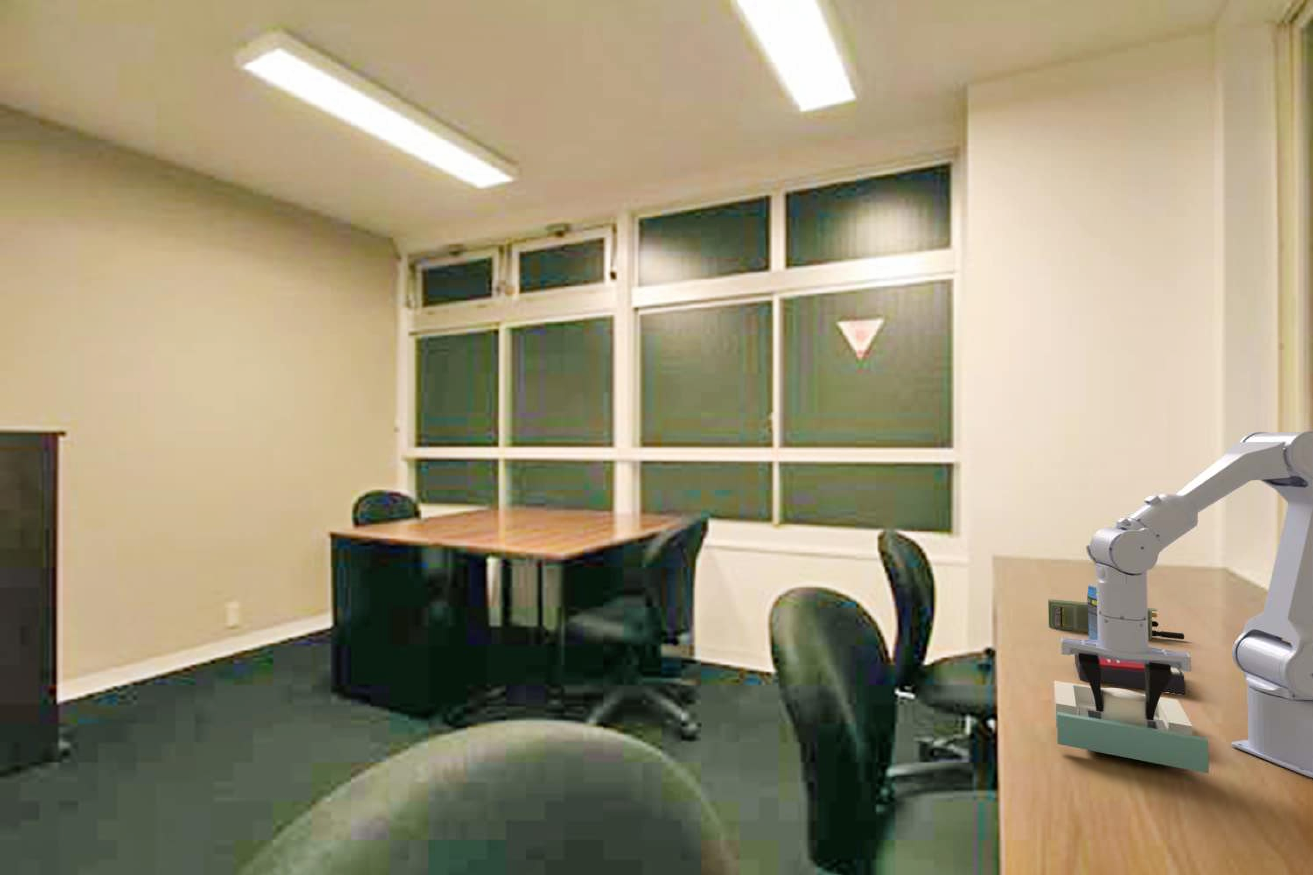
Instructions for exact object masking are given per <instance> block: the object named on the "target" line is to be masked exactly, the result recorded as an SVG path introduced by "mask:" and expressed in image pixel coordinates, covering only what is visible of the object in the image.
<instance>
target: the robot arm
mask: <svg viewBox="0 0 1313 875" xmlns="http://www.w3.org/2000/svg"><path fill="white" fill-rule="evenodd" d="M1252 481H1260V482H1261V483H1264V484H1265V485H1267V486H1269V487H1270V488H1272V489H1274V490H1275V491H1276V492H1277V493H1278V494H1279V496H1281V497H1282V498H1283V499H1284V500H1285V501H1286V502H1287V507H1286V511H1285V517H1284V521H1283V525H1282V529H1281V533H1280V538H1279V543H1278V547H1277V550H1276V555H1275V560H1274V564H1273V569H1272V573H1271V578H1270V581H1269V586H1268V590H1267V594H1266V600H1265V602H1264V608H1263V611H1262V612H1261V613H1259V614H1257V615H1255V616H1253V617H1251V618H1249V619H1247V620H1246V622H1245V624H1244V629H1243V631H1242V633H1241V634H1240V635H1239V636H1238V637H1237V639H1235V642H1233V645H1232V648H1231V655H1232V659H1233V661H1234V664H1235V665H1236V667H1237V668H1238V669H1239V670H1240V671H1242V672H1243V680H1244V681H1246V683H1247V684H1246V694H1247V695H1246V697H1247V698H1246V702H1247V704H1246V705H1247V736H1248V737H1247V739H1244V740H1236V741H1231V746H1232V747H1233V748H1236V749H1239V750H1242V751H1244V752H1246V753H1248V754H1250V755H1254V756H1256V757H1259V758H1262V759H1263V760H1267V761H1269V762H1270V763H1274V764H1275V765H1279V766H1281V767H1284V768H1286V769H1289V770H1291V771H1293V772H1296V773H1299V774H1301V775H1304V776H1306V777H1308V778H1312V779H1313V429H1312V430H1311V429H1309V430H1305V431H1286V432H1285V431H1284V432H1283V431H1282V432H1266V431H1257V432H1251V433H1249V434H1247V435H1245V436H1244V437H1242V438H1241V439H1240V441H1237V442H1235V443H1233V444H1231V445H1229V446H1228V448H1227V451H1226V453H1225V454H1224V455H1222V456H1221V457H1220V458H1219V459H1217V460H1216V461H1215V462H1214V463H1212V464H1211V465H1210V466H1209V467H1208V468H1206V470H1204V471H1203V472H1202V473H1200V474H1199V475H1198V476H1197V477H1195V478H1194V479H1193V480H1191V481H1190V482H1189V483H1188V484H1187V485H1184V487H1183V488H1181V489H1180V490H1179V491H1177V492H1176V493H1175V494H1171V493H1160V494H1158V495H1152V494H1151V495H1149V496H1147V497H1146V498H1145V499H1144V500H1143V501H1144V503H1145V504H1144V505H1142V506H1141V507H1139V508H1138V509H1137V510H1135V511H1134V512H1132V513H1131V514H1129V515H1128V516H1126V517H1120V518H1118V519H1117V520H1116V521H1115V522H1116V525H1115V527H1112V526H1111V527H1110V526H1109V527H1104V528H1101V529H1100V530H1098V531H1096V532H1095V533H1094V534H1093V535H1092V537H1091V539H1090V542H1089V544H1088V545H1086V547H1085V548H1086V553H1087V555H1088V557H1089V559H1090V560H1091V561H1092V562H1093V564H1094V566H1095V574H1096V587H1097V593H1096V596H1097V625H1098V640H1089V638H1088V639H1083V638H1067V637H1060V652H1061V655H1066V656H1070V655H1074V656H1075V655H1078V658H1079V663H1080V665H1081V667H1082V669H1083V671H1084V673H1085V675H1086V677H1087V679H1088V682H1087V683H1089V686H1091V689H1092V692H1093V695H1094V699H1095V707H1096V711H1099V712H1102V709H1103V705H1102V697H1101V688H1102V687H1101V686H1102V684H1101V667H1100V661H1099V658H1104V659H1111V660H1118V661H1126V662H1133V663H1141V664H1144V667H1145V682H1146V689H1145V694H1144V695H1145V697H1146V698H1147V720H1152V721H1153V720H1154V714H1155V710H1156V707H1157V704H1158V701H1159V699H1160V697H1162V694H1164V693H1163V691H1164V689H1165V687H1166V686H1167V685H1168V683H1169V682H1170V680H1171V678H1172V672H1171V668H1178V669H1180V671H1185V672H1189V673H1190V672H1192V656H1191V655H1190V654H1189V653H1188V652H1182V651H1181V652H1180V651H1177V650H1176V651H1174V650H1170V649H1164V648H1159V647H1154V646H1149V639H1148V610H1147V608H1148V571H1149V570H1152V569H1153V568H1154V567H1155V565H1156V564H1157V562H1158V559H1159V555H1160V553H1161V552H1162V551H1163V550H1165V549H1166V548H1167V547H1168V546H1170V545H1171V544H1173V543H1174V542H1175V541H1177V540H1178V539H1179V538H1181V537H1182V536H1184V535H1185V534H1187V533H1188V532H1190V531H1191V530H1192V529H1194V528H1196V527H1197V526H1198V523H1199V522H1198V521H1199V520H1198V519H1199V514H1198V513H1200V512H1202V511H1203V510H1205V509H1207V508H1208V507H1211V505H1213V504H1215V503H1216V502H1218V501H1220V500H1221V499H1222V498H1225V497H1227V496H1228V495H1229V494H1231V493H1233V492H1234V491H1236V490H1238V489H1239V488H1240V487H1243V486H1244V485H1246V484H1247V483H1249V482H1252Z"/></svg>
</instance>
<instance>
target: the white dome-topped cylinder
mask: <svg viewBox="0 0 1313 875" xmlns="http://www.w3.org/2000/svg"><path fill="white" fill-rule="evenodd" d="M1103 688H1104V687H1103ZM1142 694H1143V693H1139V692H1136V691H1133V690H1129V689H1125V688H1117V687H1106V688H1104V689H1101V697H1102V705H1103V709H1102V712H1101V719H1102V720H1108V721H1114V722H1120V723H1125V724H1131V725H1137V726H1143V727H1147V698H1146V697H1145V696H1143V695H1142Z"/></svg>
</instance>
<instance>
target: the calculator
mask: <svg viewBox="0 0 1313 875" xmlns="http://www.w3.org/2000/svg"><path fill="white" fill-rule="evenodd" d="M1099 661H1100V667H1101V683H1103V684H1102V685H1107V684H1109V686H1114V685H1115V687H1122V686H1123V687H1124V688H1131V689H1142V690H1146V682H1145V667H1144V664H1141V663H1133V662H1126V661H1118V660H1111V659H1104V658H1099ZM1074 663H1075V664H1074V665H1075V667H1076V672H1077V675H1078V677H1079V680H1080V682H1081V681H1082V682H1086V683H1089V682H1088V679H1087V677H1086V675H1085V673H1084V671H1083V669H1082V667H1081V665H1080V663H1079V658H1078V655H1074ZM1171 672H1172V678H1171V680H1170V682H1169V683H1168V685H1167V686H1166V687H1165V689H1164V691H1163V692H1169V693H1168V694H1170V693H1175V694H1174V695H1177V694H1181V695H1180V696H1184V695H1185V696H1187V695H1186V694H1187V693H1186V683H1185V682H1186V681H1185V674H1184V673H1183V672H1182V670H1181V669H1178V668H1171ZM1123 687H1122V688H1123Z"/></svg>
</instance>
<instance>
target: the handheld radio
mask: <svg viewBox="0 0 1313 875" xmlns="http://www.w3.org/2000/svg"><path fill="white" fill-rule="evenodd" d="M1047 604H1048V605H1047V606H1048V607H1047V609H1048V628H1050V629H1055V630H1057V629H1058V630H1065V631H1066V630H1067V631H1073V632H1074V631H1075V632H1076V631H1077V632H1085V633H1089V623H1088V601H1087V602H1086V601H1076V600H1075V601H1074V600H1063V599H1062V600H1061V599H1054V598H1053V599H1051V598H1048V599H1047ZM1147 610H1148V640H1152V639H1153V637H1155V638H1157V637H1160V638H1165V639H1175V640H1184V639H1185V635H1184V632H1183V633H1182V632H1173V631H1172V632H1171V631H1162V630H1161V631H1158V630H1153V628H1158V627H1159V622H1158V621H1155V620H1153V618H1157V617H1158V614H1157V613H1156V612H1157V611H1158V610H1157V608H1153V607H1147ZM1154 612H1155V613H1154Z"/></svg>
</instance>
